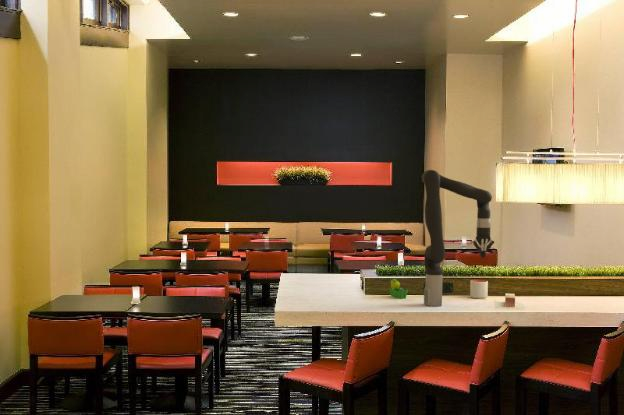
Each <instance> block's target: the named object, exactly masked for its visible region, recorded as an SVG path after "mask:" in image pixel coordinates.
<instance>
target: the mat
mask: <svg viewBox="0 0 624 415" xmlns="http://www.w3.org/2000/svg"><path fill="white" fill-rule="evenodd" d="M494 309H498V310H499V309H500V310H520V311H526V307H525V303H524V302H522V301H521V302H520V301H515V307H506V306H505V300H504V301H503V300H502V301H501V300H500V301H499V300H494Z"/></svg>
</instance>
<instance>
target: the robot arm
mask: <svg viewBox="0 0 624 415" xmlns="http://www.w3.org/2000/svg"><path fill="white" fill-rule="evenodd" d="M421 181H422V183H423V184H424V187H425V194H426V196H425V197H426V198H425V203H424V204H425V206H424V222H425V226H426V228H427V231H428V234H429V238H430V239H429V240H430V244H429V245H428V246H427V247H426V248H425V250H424V270H425V287H424V289H423V305H425V306H428V307H441V306H442V305H443V274H444V273H443V268H442V267H441V263H442V262H443V261H444V259H445V258H446V250H445V244H444V235H443V234H444V233H443V231H444V230H443V214H442V213H443V212H442V203H441V196H440V195H441V194H440V193H441V192H440V190H441V189H443V190H446V191H449V192H451V193H454V194H456V195H459V196H461V197H464V198H468V199H472V200H475V201H476V207H477V213H476V214H477V216H476V217H477V218H476V236H475V239H474V240H472V241H471V243H472V244H473V245H474V247H475V249H476V250H478V251H479V256H480V258H481V259H484V258H485V257H486V256H487V255H486V254H487V251H488V250H491V248H492V246H493V245H494V244H495V241H494V240H492V239H491V238H492V237H491V227H492V225H491V224H492V223H491V209H490V203H491V201H492V200H493V199H492V198H493V195H492V193H491V192H490V191H488V190H486V189H482V188H479V187H475V186H473V185H471V184H468V183H465V182H462V181H459V180H455V179H451V178H449V177H446V176H444V175H441V174H439V172H438V171H437V170H434V169H427V170H426V171H424V172H423V173H422V175H421ZM440 188H441V189H440Z"/></svg>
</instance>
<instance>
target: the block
mask: <svg viewBox="0 0 624 415" xmlns="http://www.w3.org/2000/svg"><path fill="white" fill-rule="evenodd" d="M504 294H505V299H504V302H505V306H506V307H515V302H516V295H515V293H504Z"/></svg>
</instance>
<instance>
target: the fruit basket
mask: <svg viewBox="0 0 624 415" xmlns="http://www.w3.org/2000/svg"><path fill="white" fill-rule="evenodd" d="M388 290H389V293H390V297H392V298H394V299H397V300H400V299H401V300H403V299H405V300H406V298H407V296H408V292H409V289H406V288H404V287H401V283H400V282H399V281H398V280H397V279H396V278H393V279H391V281H390V287H388Z"/></svg>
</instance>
